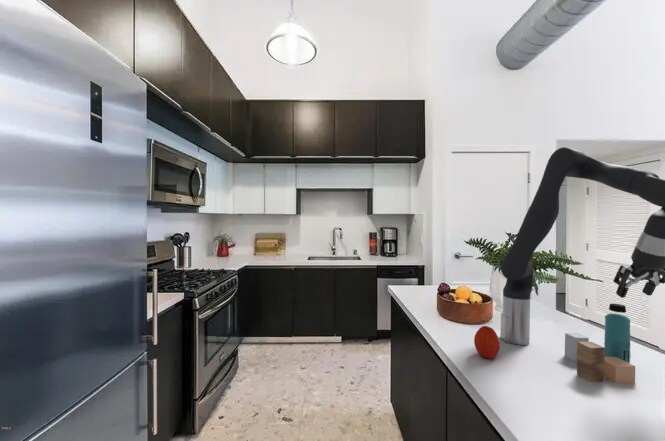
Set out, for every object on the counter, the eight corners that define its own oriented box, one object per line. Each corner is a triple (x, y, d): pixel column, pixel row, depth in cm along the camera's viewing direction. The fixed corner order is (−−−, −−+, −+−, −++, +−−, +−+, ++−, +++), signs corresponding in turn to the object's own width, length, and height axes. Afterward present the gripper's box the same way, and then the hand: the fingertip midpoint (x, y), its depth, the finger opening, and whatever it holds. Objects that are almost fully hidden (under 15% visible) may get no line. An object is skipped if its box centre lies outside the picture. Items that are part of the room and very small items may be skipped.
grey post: (575, 361, 104) (575, 337, 104) (564, 355, 109) (565, 332, 109) (588, 361, 105) (588, 337, 105) (577, 355, 109) (577, 332, 109)
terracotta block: (615, 383, 91) (615, 366, 91) (597, 373, 97) (597, 357, 97) (634, 383, 91) (635, 366, 91) (615, 372, 97) (615, 357, 97)
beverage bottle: (625, 371, 98) (626, 308, 98) (599, 362, 104) (600, 303, 104) (634, 367, 101) (635, 305, 101) (608, 358, 107) (609, 300, 107)
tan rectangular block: (589, 381, 91) (590, 347, 91) (576, 374, 96) (577, 341, 96) (604, 381, 92) (604, 347, 92) (590, 373, 96) (591, 341, 96)
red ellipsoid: (469, 350, 112) (470, 321, 112) (492, 351, 111) (493, 321, 111) (479, 361, 103) (480, 329, 103) (504, 362, 103) (505, 330, 103)
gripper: (663, 240, 92) (643, 286, 99) (618, 243, 91) (600, 289, 98) (692, 253, 85) (668, 301, 92) (643, 256, 84) (622, 304, 91)
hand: (633, 294), depth 95 cm, fingers open, 8 cm apart
